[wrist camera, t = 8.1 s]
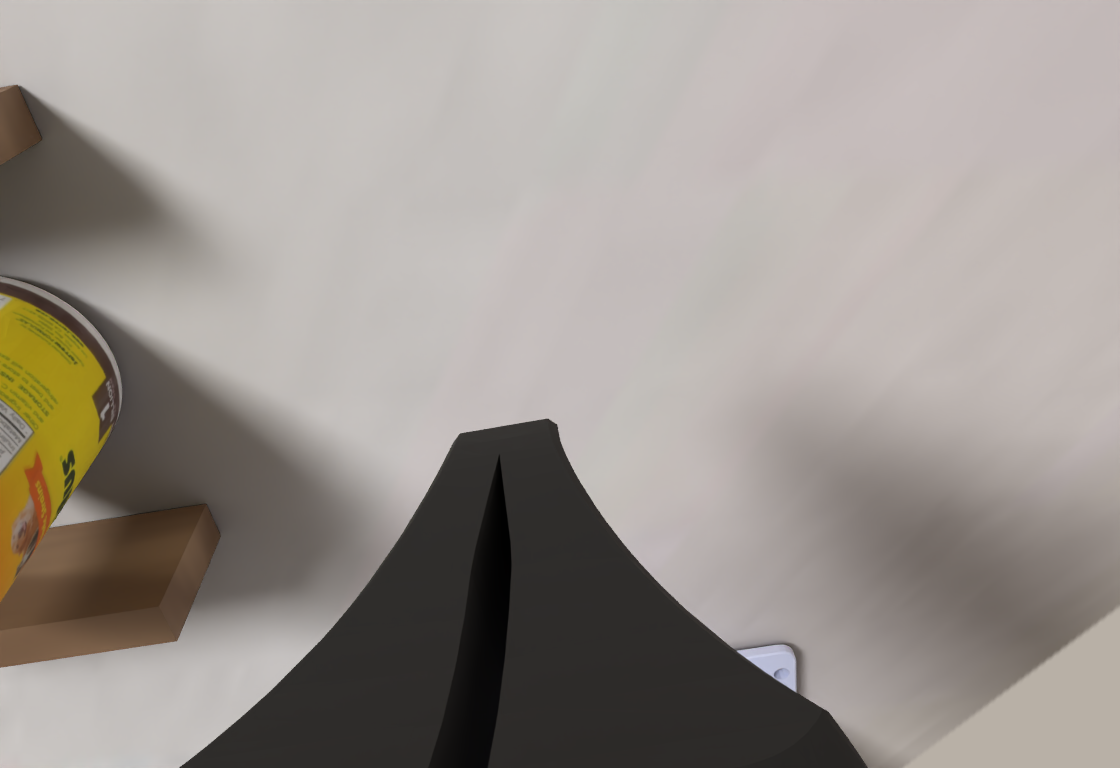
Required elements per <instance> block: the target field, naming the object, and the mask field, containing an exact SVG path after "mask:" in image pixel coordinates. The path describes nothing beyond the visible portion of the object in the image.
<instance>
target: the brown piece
mask: <svg viewBox="0 0 1120 768" xmlns="http://www.w3.org/2000/svg"><path fill="white" fill-rule="evenodd" d="M41 140H42V138H41V136H40V134H39V131H38V129H37V127H36V125H35V122H34V120H33V118H32V116H31V114H30V111H29V109H28V107H27V105H26V102H25V100H24V98H23V96H22V94H21V91H20V89H19V87H18V85H12V86H6V87H1V88H0V165H1V164H3V163H5V162H6V161H8V160H10V159H11V158H13V157H15V156H16V155H18V154H20V153H21V152H23V151H25V150H26V149H28V148H30V147H31V146H33V145H34V144H36V143H38V142H39V141H41ZM220 537H221V536H220V533H219V531H218V529H217V527H216V524H215V522H214V520H213V518H212V516H211V513H210V511H209V509H208V507H207V504H202V505H196V506H189V507H183V508H176V509H170V510H163V511H157V512H150V513H144V514H137V515H131V516H124V517H118V518H111V519H105V520H98V521H92V522H85V523H79V524H72V525H66V526H59V527H53V528H49V529H48V530H47V532H46V534H45V535H44V537H43V538H42V540H41V541H40V543H39V545H38V546H37V548H36V549H35V551H34V552H33V554H32V555H31V557H30V558H29V560H28V561H27V563H26V564H25V566H24V567H23V569H22V570H21V571H20V573H19V575H18V576H17V578H16V579H15V581H14V582H13V584H12V585H11V587H10V588H9V590H8V591H7V593H6V594H5V596H4V597H3V599H2V601H1V602H0V668H1V667H7V666H14V665H21V664H27V663H34V662H40V661H47V660H54V659H60V658H67V657H74V656H80V655H87V654H94V653H100V652H107V651H114V650H120V649H127V648H134V647H140V646H147V645H154V644H160V643H167V642H174V641H177V640H178V638H179V635H180V633H181V630H182V628H183V626H184V623H185V621H186V618H187V616H188V614H189V611H190V609H191V606H192V604H193V602H194V599H195V597H196V594H197V592H198V590H199V587H200V585H201V582H202V580H203V578H204V575H205V573H206V570H207V568H208V566H209V563H210V561H211V558H212V556H213V554H214V551H215V549H216V546H217V544H218V542H219V539H220Z"/></svg>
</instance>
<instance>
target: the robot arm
mask: <svg viewBox="0 0 1120 768" xmlns="http://www.w3.org/2000/svg"><path fill="white" fill-rule="evenodd" d="M781 668H783V669H781ZM778 669H780V670H778ZM180 768H868V767H867V766H866V764H865V763H864V761H863V760H862V758H861V757H860V755H859V754H858V752H857V751H856V749H855V748H854V746H853V745H852V744H851V742H850V741H849V739H848V738H847V737H846V735H845V734H844V732H843V731H842V730H841V728H840V727H839V725H838V724H837V723H836V721H835V720H834V719H833V717H832V716H831V715H830V713H829V712H828V711H826V710H824V709H823V708H821V707H819V706H818V705H816V704H814V703H813V702H811V701H809V700H808V699H806V698H804V697H803V696H801V695H800V694H798V693H797V685H796V658H795V655H794V652H793V650H792V648H790V647H789V646H787V645H771V646H765V647H758V648H751V649H744V650H738V651H736V650H734V649H733V648H731V647H730V646H729V645H728V644H727V643H725V642H724V641H723V640H722V639H721V638H719V637H718V636H717V635H716V634H715V633H713V632H712V631H711V630H710V629H709V628H707V627H706V626H705V625H704V624H703V623H701V622H700V621H699V620H698V619H697V618H696V617H694V616H693V615H692V614H691V613H690V612H688V611H687V610H686V609H685V608H684V607H683V606H682V605H680V604H679V603H678V602H677V601H676V600H675V599H674V598H673V597H672V596H671V595H670V594H669V593H668V592H667V591H666V590H665V589H664V588H663V587H662V586H661V585H660V584H659V583H658V582H657V581H656V580H655V579H654V578H653V577H652V576H651V575H650V573H649V572H648V571H647V570H646V569H645V568H644V567H643V566H642V565H641V564H640V563H639V562H638V560H637V559H636V558H635V557H634V556H633V555H632V554H631V552H630V551H629V550H628V549H627V547H626V546H625V545H624V544H623V543H622V541H621V540H620V539H619V538H618V536H617V535H616V534H615V532H614V531H613V530H612V528H611V527H610V526H609V525H608V523H607V522H606V521H605V519H604V518H603V516H602V515H601V513H600V512H599V511H598V509H597V508H596V506H595V505H594V503H593V502H592V500H591V498H590V497H589V495H588V494H587V492H586V491H585V489H584V487H583V486H582V484H581V483H580V481H579V479H578V478H577V476H576V474H575V472H574V470H573V468H572V466H571V464H570V462H569V460H568V458H567V456H566V454H565V452H564V449H563V447H562V444H561V442H560V437H559V432H558V427H557V424H555V423H554V422H552V421H551V420H549V419H543V420H537V421H531V422H525V423H519V424H513V425H507V426H502V427H496V428H490V429H484V430H478V431H472V432H466V433H460V434H459V436H458V437H457V438H456V440H455V441H454V443H453V445H452V447H451V448H450V450H449V452H448V454H447V456H446V458H445V460H444V462H443V464H442V466H441V468H440V470H439V472H438V474H437V475H436V477H435V479H434V481H433V483H432V484H431V486H430V488H429V490H428V492H427V493H426V495H425V497H424V499H423V500H422V502H421V504H420V505H419V507H418V509H417V510H416V512H415V514H414V515H413V517H412V519H411V520H410V522H409V524H408V525H407V527H406V529H405V530H404V532H403V533H402V535H401V536H400V538H399V540H398V541H397V543H396V544H395V545H394V547H393V548H392V550H391V551H390V553H389V554H388V556H387V557H386V558H385V560H384V561H383V563H382V564H381V566H380V567H379V569H378V570H377V571H376V573H375V574H374V576H373V577H372V579H371V580H370V581H369V583H368V584H367V585H366V587H365V588H364V589H363V591H362V592H361V593H360V595H359V596H358V597H357V598H356V600H355V601H354V602H353V603H352V605H351V606H350V607H349V608H348V610H347V611H346V612H345V613H344V614H343V616H342V617H341V618H340V619H339V620H338V622H337V623H336V624H335V625H334V626H333V628H332V629H331V630H330V631H329V632H328V633H327V634H326V635H325V637H324V638H323V639H322V640H321V641H320V642H319V643H318V644H317V645H316V646H315V647H314V648H313V649H312V650H311V651H310V652H309V653H308V654H307V655H306V656H305V657H304V658H303V659H302V660H301V661H300V662H299V663H298V664H297V665H296V666H295V667H294V668H293V669H292V670H291V671H290V672H289V673H288V674H287V675H286V676H285V677H284V678H283V679H282V680H281V681H280V682H279V683H278V684H277V685H276V686H275V687H274V688H273V689H272V690H271V691H270V692H269V693H268V694H267V695H266V696H265V697H264V698H262V699H261V700H260V701H259V702H258V703H257V704H256V705H255V706H253V707H252V708H251V709H250V710H249V711H248V712H247V713H246V714H244V715H243V716H242V717H241V718H240V719H239V720H238V721H236V722H235V723H234V724H233V725H232V726H230V727H229V728H228V729H227V730H226V731H225V732H223V733H222V734H221V735H220V736H219V737H217V738H216V739H215V740H214V741H213V742H211V743H210V744H209V745H208V746H207V747H205V748H204V749H203V750H202V751H200V752H199V753H198V754H196V755H195V756H194V757H193V758H191V759H190V760H189V761H188V762H186V763H185V764H184V765H182V766H181V767H180Z"/></svg>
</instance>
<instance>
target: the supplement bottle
mask: <svg viewBox="0 0 1120 768" xmlns="http://www.w3.org/2000/svg"><path fill="white" fill-rule="evenodd" d="M121 404H122V384H121V377H120V373H119V369H118V366H117V363H116V360H115V358H114V356H113V354H112V352H111V350H110V348H109V346H108V345H107V343H106V341H105V340H104V339H103V337H102V336H101V335H100V333H99V332H98V331H97V330H96V329H95V327H94V326H93V325H92V324H91V323H90V322H89V321H88V320H87V319H86V318H85V317H84V316H83V315H82V314H81V313H79V312H78V311H77V310H76V309H74V308H73V307H72V306H70V305H69V304H67V303H66V302H64V301H63V300H61V299H60V298H58V297H56V296H54V295H52V294H51V293H49V292H47V291H45V290H43V289H40V288H38V287H35V286H33V285H30V284H28V283H25V282H21V281H18V280H14V279H11V278H6V277H0V602H1V601H2V599H3V597H4V596H5V594H6V593H7V591H8V590H9V588H10V587H11V585H12V584H13V582H14V581H15V579H16V578H17V576H18V575H19V573H20V571H21V570H22V569H23V567H24V566H25V564H26V563H27V561H28V560H29V558H30V557H31V555H32V554H33V552H34V551H35V549H36V548H37V546H38V545H39V543H40V541H41V540H42V538H43V537H44V535H45V534H46V532H47V530H48V529H49V527H50V526H51V524H52V523H53V522H54V520H55V519H56V517H57V516H58V514H59V513H60V511H61V510H62V508H63V507H64V505H65V503H66V502H67V500H68V499H69V497H70V496H71V494H72V493H73V491H74V490H75V488H76V487H77V485H78V484H79V482H80V481H81V479H82V478H83V476H84V475H85V473H86V472H87V470H88V469H89V467H90V466H91V464H92V463H93V461H94V459H95V458H96V456H97V455H98V453H99V452H100V450H101V449H102V447H103V446H104V444H105V443H106V441H107V439H108V437H109V436H110V434H111V432H112V430H113V429H114V427H115V425H116V422H117V420H118V417H119V413H120V409H121Z"/></svg>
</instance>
